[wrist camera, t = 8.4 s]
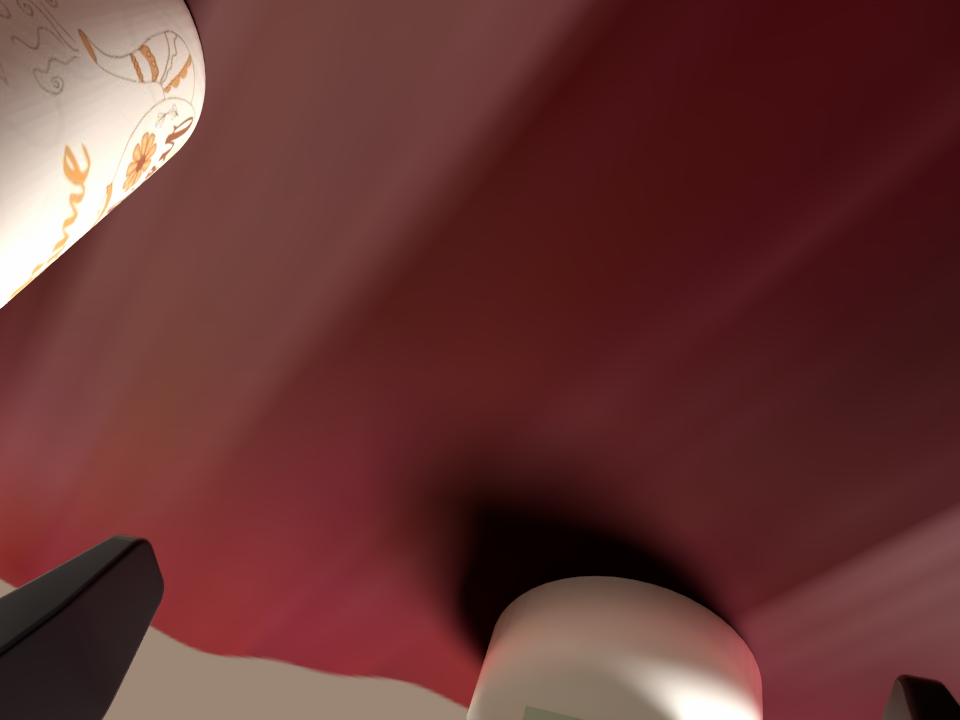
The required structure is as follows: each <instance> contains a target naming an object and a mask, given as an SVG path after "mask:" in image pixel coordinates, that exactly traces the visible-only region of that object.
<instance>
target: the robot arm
mask: <svg viewBox="0 0 960 720" xmlns="http://www.w3.org/2000/svg"><path fill="white" fill-rule="evenodd" d="M163 592H164V581H163V578H162V575H161V572H160V569H159V566H158V562H157V559H156V556H155V553H154V550H153V547H152V545H151V543H150V542H149V541H148V540H147V539H145V538H141V537H136V536H130V535H124V534H120V535H115V536H113V537H110V538H108V539H107V540H105V541H103V542H101V543H99V544H98V545H96V546H94V547H92V548H90V549H88V550H87V551H85V552H83V553H81V554H79V555H78V556H76V557H74V558H72V559H70V560H68V561H67V562H65V563H63V564H61V565H59V566H58V567H56V568H54V569H52V570H50V571H48V572H47V573H45V574H43V575H41V576H39V577H38V578H36V579H34V580H32V581H30V582H28V583H27V584H25V585H23V586H21V587H19V588H18V589H16V590H14V591H12V592H10V593H8V594H7V595H5V596H3V597H1V598H0V720H102V719H103V718H104V716H105V714H106V712H107V711H108V709H109V707H110V705H111V703H112V702H113V700H114V698H115V696H116V694H117V692H118V690H119V688H120V686H121V684H122V682H123V679H124V677H125V675H126V673H127V671H128V669H129V667H130V665H131V663H132V661H133V659H134V657H135V655H136V652H137V650H138V648H139V646H140V644H141V642H142V640H143V637H144V636H145V634H146V632H147V629H148V627H149V625H150V623H151V621H152V619H153V617H154V615H155V613H156V611H157V609H158V607H159V605H160V602H161V600H162V596H163ZM881 720H960V703H959V702H958V701H957V699H956V698H955V697H954V695H953V694H952V693H951V691H950V690H949V689H948V688H947V686H945V685H944V684H943V683H942V682H940V681H938V680H935V679H930V678H925V677H919V676H914V675H908V674H902V675H900V676H898V678H897V679H896V680H895V682H894V685H893V688H892V691H891V693H890V696H889V699H888V702H887V705H886V707H885V710H884V713H883V716H882V719H881Z"/></svg>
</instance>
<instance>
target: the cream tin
mask: <svg viewBox="0 0 960 720" xmlns="http://www.w3.org/2000/svg"><path fill="white" fill-rule="evenodd" d="M526 706H529V707H533V708H537V709H541V710H546V711H550V712H554V713H558V714H563V715H567V716H571V717H575V718H579V719H584V720H763V705H762V679H761V675H760V671H759V667H758V665H757V663H756V660H755V658H754V656H753V654H752V652H751V651H750V649H749V648H748V646H747V645H746V643H745V642H744V641H743V639H742V638H741V637H740V636H739V635H738V634H737V633H736V631H735V630H734V629H733V628H731V627H730V626H729V625H728V624H727V623H726V622H725V621H724V620H722V619H721V618H720V617H719V616H717V615H716V614H714V613H713V612H712V611H710V610H709V609H707V608H706V607H704V606H702V605H700V604H699V603H697V602H695V601H693V600H692V599H690V598H688V597H685V596H683V595H681V594H678V593H676V592H674V591H672V590H669V589H666V588H663V587H660V586H657V585H654V584H650V583H646V582H641V581H637V580H633V579H626V578H619V577H606V576H585V577H573V578H567V579H560V580H557V581H553V582H549V583H546V584H543V585H541V586H538V587H536V588H533V589H531V590H529V591H528V592H526V593H524V594H522V595H521V596H519V597H518V598H517V599H515V600H514V601H513V602H512V603H511V604H509V605H508V607H507V608H506V609H505V610H504V611H503V613H502V614H501V615H500V617H499V619H498V621H497V623H496V624H495V627H494V631H493V634H492V637H491V640H490V643H489V647H488V650H487V653H486V656H485V660H484V663H483V666H482V669H481V673H480V676H479V679H478V682H477V685H476V689H475V692H474V695H473V698H472V702H471V705H470V708H469V711H468V715H467V718H466V720H523V716H524V712H525V708H526Z"/></svg>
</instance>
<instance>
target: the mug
mask: <svg viewBox="0 0 960 720" xmlns="http://www.w3.org/2000/svg"><path fill="white" fill-rule="evenodd" d="M204 94H205V66H204V59H203V52H202V47H201V44H200V40H199V36H198V33H197V30H196V27H195V24H194V22H193V19H192V17H191V15H190V12H189V10H188V8H187V6H186V4H185V2H184V1H183V0H0V308H1V307H3V306H4V305H5V304H6V303H7V302H8V301H9V300H11V299H12V298H13V297H14V296H15V295H16V294H17V293H18V292H20V291H21V290H22V289H23V288H24V287H25V286H26V285H27V284H29V283H30V282H31V281H32V280H33V279H34V278H35V277H37V276H38V275H39V274H40V273H41V272H42V271H43V270H44V269H46V268H47V267H48V266H49V265H50V264H51V263H52V262H54V261H55V260H56V259H57V258H58V257H59V256H60V255H61V254H63V253H64V252H65V251H66V250H67V249H68V248H69V247H71V246H72V245H73V244H74V243H75V242H76V241H77V240H78V239H80V238H81V237H82V236H83V235H84V234H85V233H86V232H88V231H89V230H90V229H91V228H92V227H93V226H94V225H95V224H97V223H98V222H99V221H100V220H101V219H102V218H103V217H105V216H106V215H107V214H108V213H109V212H110V211H111V210H112V209H114V208H115V207H116V206H117V205H118V204H119V203H120V202H121V201H123V200H124V199H125V198H126V197H127V196H128V195H129V194H131V193H132V192H133V191H134V190H135V189H136V188H137V187H138V186H140V185H141V184H142V183H143V182H144V181H145V180H146V179H148V178H149V177H150V176H151V175H152V174H153V173H154V172H155V171H157V170H158V169H159V168H160V167H161V166H162V165H163V164H165V163H166V162H167V161H168V160H169V159H170V158H171V157H172V156H173V155H174V154H175V153H176V152H177V151H178V150H179V149H180V148H181V147H182V146H183V145H184V143H185V142H186V141H187V139H188V138H189V137H190V135H191V134H192V132H193V130H194V128H195V126H196V124H197V122H198V119H199V117H200V114H201V110H202V106H203V101H204Z"/></svg>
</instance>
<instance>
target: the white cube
mask: <svg viewBox="0 0 960 720" xmlns="http://www.w3.org/2000/svg"><path fill="white" fill-rule="evenodd" d="M523 720H584V719H579V718H575V717H571V716H567V715H563V714H558V713H554V712H550V711H546V710H541V709H537V708H533V707H529V706H526V708H525V712H524V716H523Z"/></svg>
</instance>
